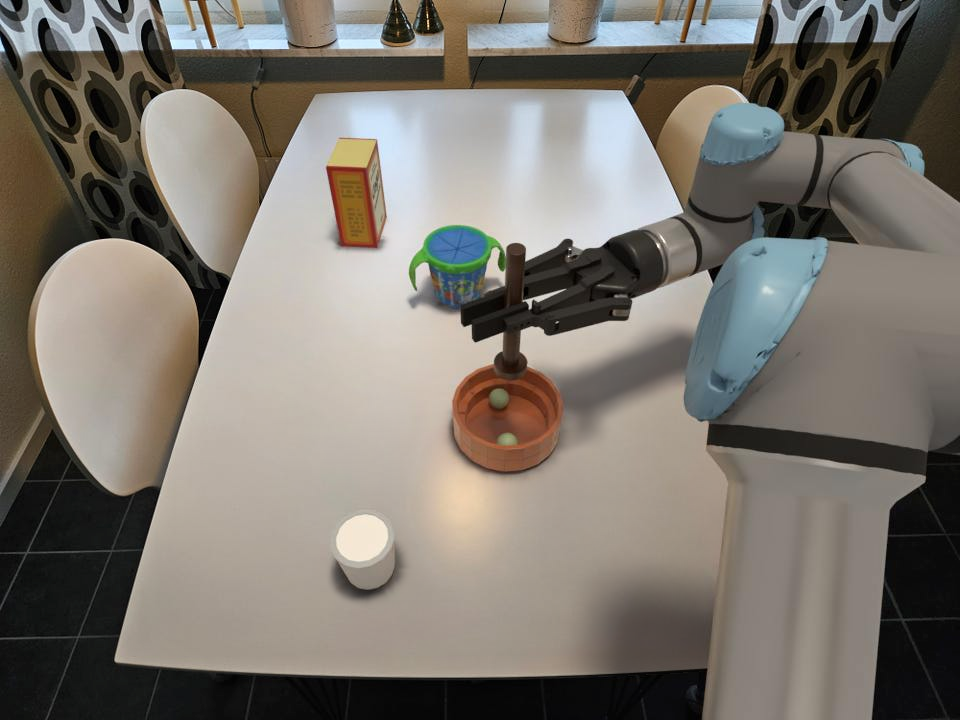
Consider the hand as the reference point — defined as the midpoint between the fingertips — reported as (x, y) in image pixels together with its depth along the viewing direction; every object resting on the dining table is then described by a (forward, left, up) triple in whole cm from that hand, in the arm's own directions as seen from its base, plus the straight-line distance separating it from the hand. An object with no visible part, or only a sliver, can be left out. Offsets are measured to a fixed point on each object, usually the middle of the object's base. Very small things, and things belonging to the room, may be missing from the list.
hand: (468, 323), depth 69 cm
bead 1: (+8, 0, -21) cm, 22 cm away
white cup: (-20, +1, -23) cm, 30 cm away
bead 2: (+2, -5, -21) cm, 21 cm away
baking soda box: (+31, +41, -23) cm, 56 cm away
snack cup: (+25, +17, -23) cm, 38 cm away
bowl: (+5, -3, -23) cm, 23 cm away
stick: (+5, -3, -10) cm, 11 cm away
